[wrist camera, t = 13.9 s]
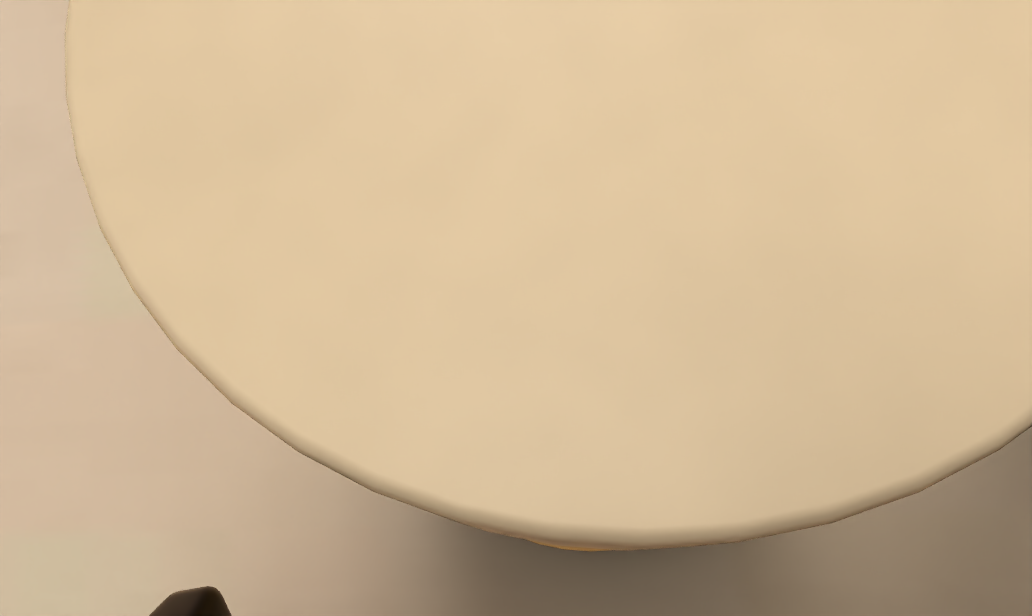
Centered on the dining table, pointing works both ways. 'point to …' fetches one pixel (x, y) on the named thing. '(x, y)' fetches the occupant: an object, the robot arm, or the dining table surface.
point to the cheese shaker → (583, 244)
